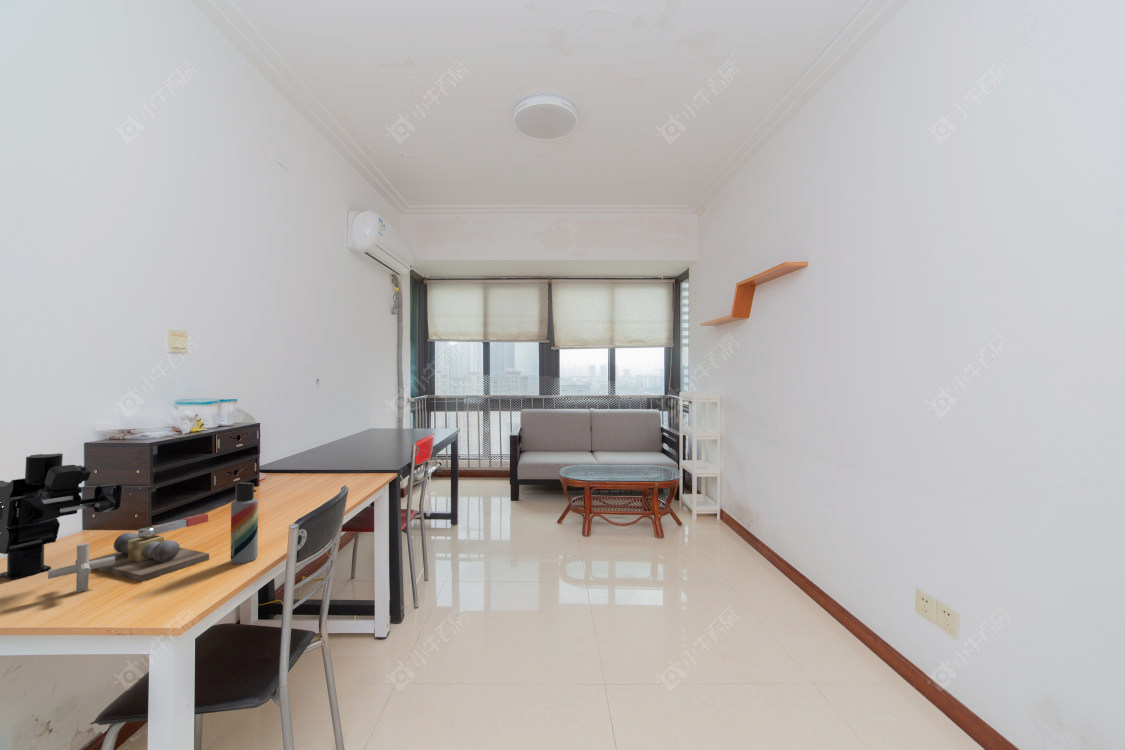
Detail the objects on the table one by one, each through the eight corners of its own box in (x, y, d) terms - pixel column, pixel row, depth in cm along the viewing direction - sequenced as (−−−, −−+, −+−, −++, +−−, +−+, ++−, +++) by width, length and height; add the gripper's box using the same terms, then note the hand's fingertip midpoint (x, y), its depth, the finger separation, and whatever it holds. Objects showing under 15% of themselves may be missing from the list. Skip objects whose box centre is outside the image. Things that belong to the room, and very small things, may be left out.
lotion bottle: (225, 562, 113) (225, 483, 113) (247, 554, 118) (248, 479, 119) (240, 565, 111) (241, 485, 112) (262, 557, 116) (263, 480, 117)
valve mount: (85, 566, 111) (85, 540, 111) (153, 547, 124) (154, 524, 124) (141, 581, 102) (142, 553, 102) (209, 559, 115) (209, 534, 115)
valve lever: (142, 539, 112) (142, 531, 112) (135, 537, 113) (135, 529, 113) (208, 521, 126) (208, 514, 126) (201, 520, 127) (201, 513, 127)
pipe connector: (111, 576, 105) (112, 533, 106) (117, 588, 99) (117, 543, 99) (46, 591, 98) (47, 545, 98) (48, 605, 91) (49, 556, 92)
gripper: (-8, 471, 96) (31, 480, 91) (104, 460, 114) (142, 467, 109) (-14, 523, 96) (25, 535, 91) (100, 504, 113) (138, 513, 108)
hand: (88, 509), depth 100 cm, fingers open, 9 cm apart
